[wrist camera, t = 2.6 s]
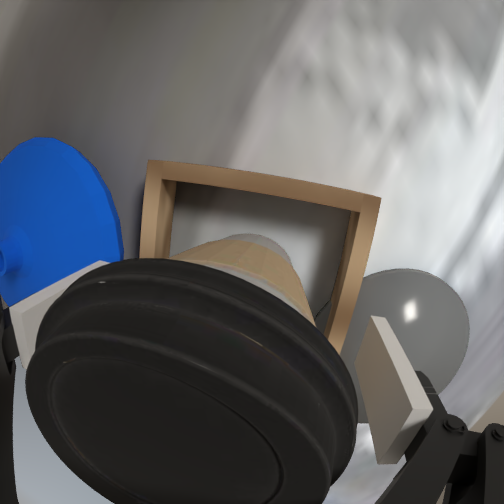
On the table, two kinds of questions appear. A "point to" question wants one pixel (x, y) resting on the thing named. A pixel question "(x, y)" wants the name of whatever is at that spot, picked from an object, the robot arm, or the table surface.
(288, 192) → the wooden square frame
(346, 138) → the table surface
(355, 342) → the grey round plate
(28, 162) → the blue spouted lid
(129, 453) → the coffee cup
